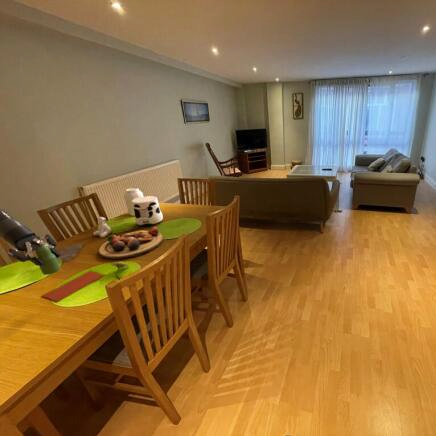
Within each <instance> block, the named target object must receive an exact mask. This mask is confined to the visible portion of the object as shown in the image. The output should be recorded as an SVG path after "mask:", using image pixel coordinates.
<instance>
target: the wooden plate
mask: <svg viewBox="0 0 436 436" xmlns="http://www.w3.org/2000/svg"><path fill="white" fill-rule="evenodd" d="M162 242H163V234H161V233H160V232H159V229H158V227H156V226H154V227H151V228H150V229H149V230H136V231H131V232H128V233H122V234H119V235H116V234H110V235H107V239H106V241H105V242H103V244H101V246H100V247H99V248H98V254H99V256H100V257H103V258H104V259H108V260H120V259H128V258H132V257H137V256H140V255H143V254H146V253H148V252H150V251H152V250H153V249H155V248H157V247H159V245H160V244H161V243H162Z"/></svg>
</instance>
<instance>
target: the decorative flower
mask: <svg viewBox="0 0 436 436" xmlns="http://www.w3.org/2000/svg"><path fill="white" fill-rule="evenodd" d="M110 265H111V266H112V267H115V268H117V270H116V276H117V278H119V280H121V278H122V277H121V276H120V275H119V270H120V269H127V268H130V266H129V265H128V264H126V263H124V262H123V261H119V262H111V263H110Z"/></svg>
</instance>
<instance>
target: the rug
mask: <svg viewBox="0 0 436 436" xmlns="http://www.w3.org/2000/svg"><path fill="white" fill-rule="evenodd" d="M83 245H84V243H81V244H77V243H76V244H73V245H70V246H68V245H67V246H63V247H62V248H61V249H59V250H58V252H60V256H59V257H58V258H57V260H58V262H59V263H60V262H64V261H71V260H74V257H76V256H77V254H78V253H79V252H80V250H81V248H82V247H83ZM67 250H68V251H67Z"/></svg>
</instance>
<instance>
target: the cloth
mask: <svg viewBox="0 0 436 436" xmlns="http://www.w3.org/2000/svg"><path fill="white" fill-rule="evenodd" d="M104 276H105V275H104V274H101V273H98V272H94V271H92V270H88V271H87V272H85V273H83V274H81V275H79V276H78V277H76V278H73V279H72V280H70V281H68V282H66V283H64V284H62V285H60V286H58V287H56V288H54V289H53V290H50V291H48V292H46V293H45V294H43V295H42V297H43V298H46V299H48V300H51V301H54V302H56V303H58V302H59V301H61V300H63V299H65V298H67V297H69V296H70V295H72V294H75V293H76V292H78V291H80V290H81V289H83V288H84V287H87V286H88V285H90V284H92V283H94V282H96V281H97V280H99V279H101V278H102V277H104Z"/></svg>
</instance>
